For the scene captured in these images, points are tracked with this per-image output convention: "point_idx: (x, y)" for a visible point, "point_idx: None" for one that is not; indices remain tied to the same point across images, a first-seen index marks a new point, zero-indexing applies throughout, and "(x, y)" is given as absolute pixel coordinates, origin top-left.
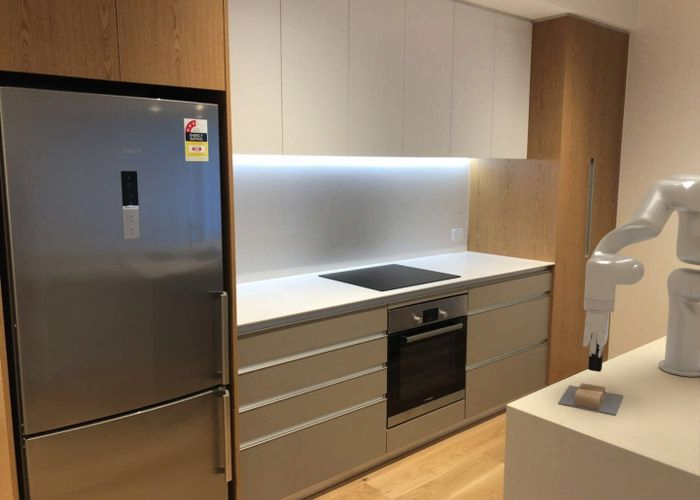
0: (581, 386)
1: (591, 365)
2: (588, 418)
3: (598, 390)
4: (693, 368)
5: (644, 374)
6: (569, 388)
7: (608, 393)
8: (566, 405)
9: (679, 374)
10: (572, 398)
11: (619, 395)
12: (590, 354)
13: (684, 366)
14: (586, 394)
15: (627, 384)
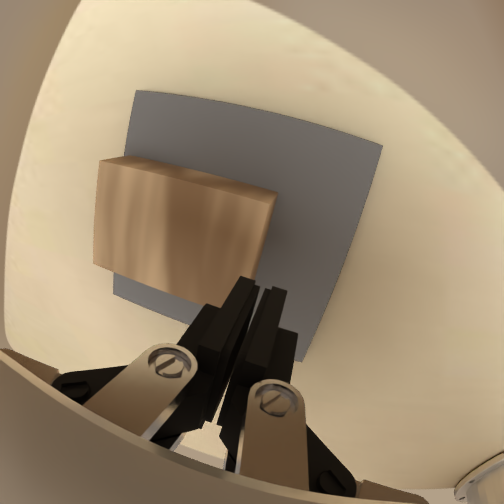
0: (205, 196)
1: (200, 311)
2: (73, 203)
3: (178, 277)
4: (467, 498)
5: (498, 423)
6: (332, 139)
7: (308, 315)
8: (132, 124)
9: (468, 476)
10: (195, 146)
11: (297, 350)
12: (138, 363)
13: (474, 493)
14: (108, 213)
15: (435, 386)
